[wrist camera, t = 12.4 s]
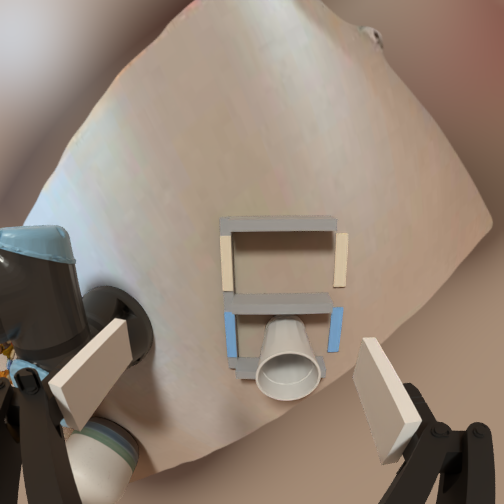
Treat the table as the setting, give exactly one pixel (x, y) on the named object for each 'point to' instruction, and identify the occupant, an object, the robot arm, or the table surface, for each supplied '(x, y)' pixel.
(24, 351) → the robot arm
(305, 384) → the cup
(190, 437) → the table surface
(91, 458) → the vase
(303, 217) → the parallel grey wall panels
